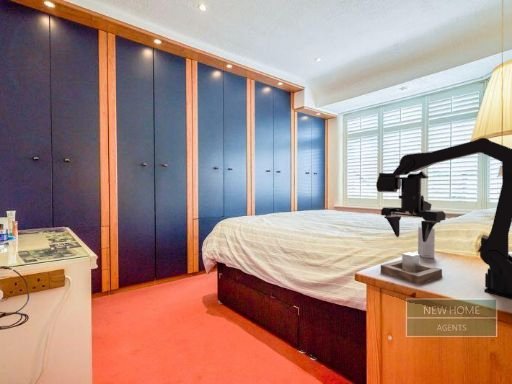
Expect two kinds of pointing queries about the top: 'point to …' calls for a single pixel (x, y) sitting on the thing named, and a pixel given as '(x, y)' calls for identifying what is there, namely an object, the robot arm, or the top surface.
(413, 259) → the steel square peg
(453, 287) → the top surface
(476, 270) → the top surface
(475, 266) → the top surface
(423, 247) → the skincare box
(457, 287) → the top surface
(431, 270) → the square wooden frame
